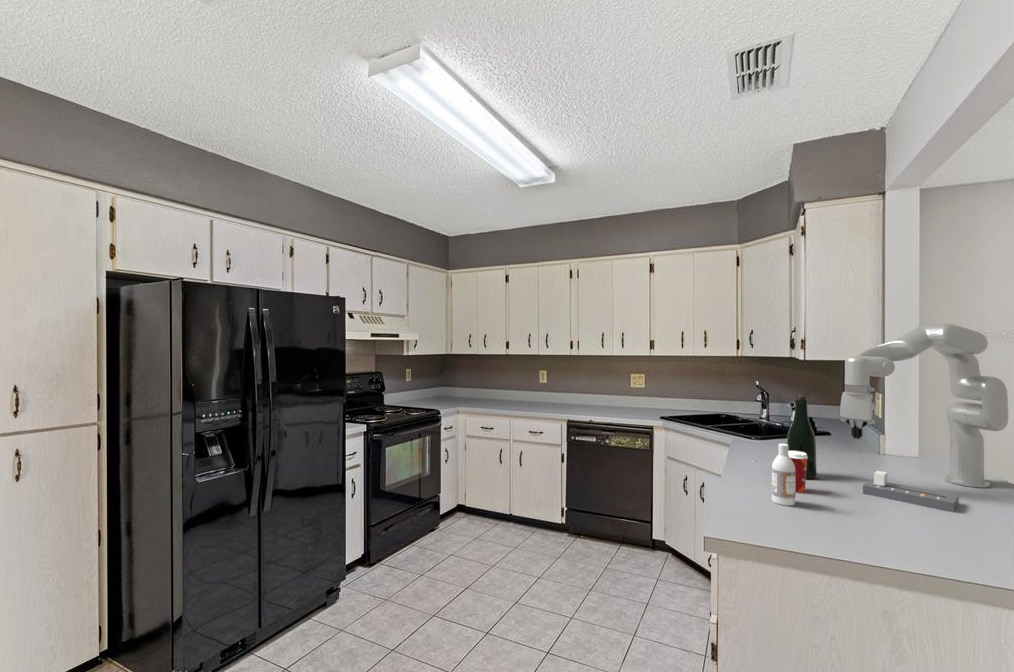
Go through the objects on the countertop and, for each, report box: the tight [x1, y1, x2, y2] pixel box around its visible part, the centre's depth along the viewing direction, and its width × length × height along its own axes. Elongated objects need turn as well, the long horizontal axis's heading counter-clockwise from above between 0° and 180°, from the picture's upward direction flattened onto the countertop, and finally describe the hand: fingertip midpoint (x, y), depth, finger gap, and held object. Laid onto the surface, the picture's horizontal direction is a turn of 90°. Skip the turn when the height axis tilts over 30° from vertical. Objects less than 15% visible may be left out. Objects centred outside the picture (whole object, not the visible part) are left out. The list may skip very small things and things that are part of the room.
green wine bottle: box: [786, 395, 818, 480], centre depth 190 cm, size 10×10×33 cm
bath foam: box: [771, 443, 796, 507], centre depth 159 cm, size 7×7×20 cm
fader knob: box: [873, 470, 888, 486], centre depth 169 cm, size 5×3×4 cm, turn 130°
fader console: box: [862, 478, 960, 513], centre depth 163 cm, size 12×24×3 cm, turn 40°
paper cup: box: [788, 451, 808, 494], centre depth 172 cm, size 8×8×14 cm
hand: (856, 438), depth 175 cm, fingers closed
